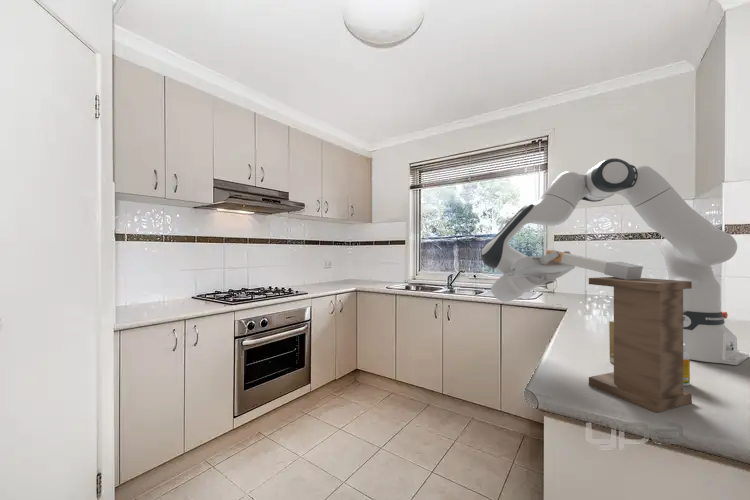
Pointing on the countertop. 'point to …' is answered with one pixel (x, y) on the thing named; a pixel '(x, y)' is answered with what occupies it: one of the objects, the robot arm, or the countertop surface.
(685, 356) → the supplement bottle
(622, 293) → the stand
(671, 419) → the countertop surface
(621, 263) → the grey tan flat bar
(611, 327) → the skincare box
